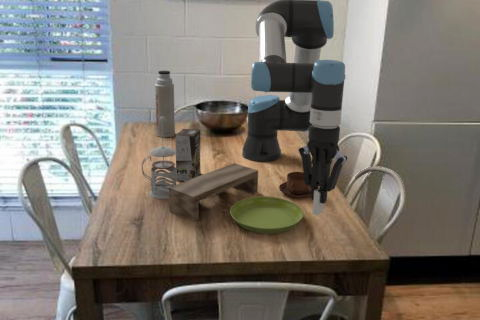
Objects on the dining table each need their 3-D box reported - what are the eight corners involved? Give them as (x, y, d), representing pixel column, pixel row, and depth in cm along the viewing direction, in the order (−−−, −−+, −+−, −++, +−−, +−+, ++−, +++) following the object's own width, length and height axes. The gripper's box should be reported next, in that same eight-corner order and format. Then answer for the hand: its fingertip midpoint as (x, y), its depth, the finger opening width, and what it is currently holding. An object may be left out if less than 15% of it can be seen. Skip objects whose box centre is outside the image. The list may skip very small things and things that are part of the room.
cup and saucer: (315, 202, 157) (316, 184, 155) (277, 198, 159) (278, 180, 157) (316, 188, 168) (318, 170, 166) (280, 185, 170) (281, 167, 168)
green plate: (234, 204, 154) (234, 194, 153) (302, 208, 152) (302, 198, 151) (225, 235, 135) (225, 224, 134) (303, 241, 133) (303, 230, 132)
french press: (180, 198, 157) (179, 120, 149) (142, 199, 155) (139, 121, 147) (178, 186, 166) (177, 112, 158) (143, 187, 164) (139, 113, 156)
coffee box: (193, 182, 170) (193, 136, 165) (175, 180, 171) (174, 134, 166) (201, 173, 178) (201, 129, 173) (183, 171, 179) (183, 127, 174)
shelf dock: (257, 192, 163) (258, 170, 160) (193, 221, 142) (193, 196, 139) (234, 184, 169) (234, 163, 167) (169, 211, 148) (168, 187, 145)
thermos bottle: (156, 137, 218) (154, 72, 209) (156, 132, 226) (155, 69, 216) (174, 137, 219) (173, 72, 210) (174, 132, 226) (173, 69, 217)
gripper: (293, 122, 125) (288, 210, 132) (340, 132, 117) (332, 225, 124) (310, 117, 130) (304, 202, 138) (356, 126, 122) (347, 215, 130)
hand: (317, 212), depth 131 cm, fingers closed
